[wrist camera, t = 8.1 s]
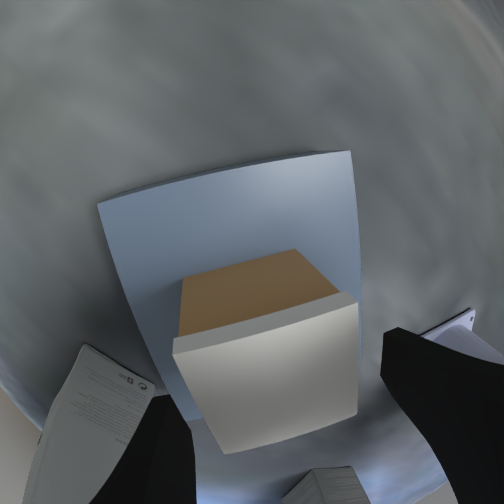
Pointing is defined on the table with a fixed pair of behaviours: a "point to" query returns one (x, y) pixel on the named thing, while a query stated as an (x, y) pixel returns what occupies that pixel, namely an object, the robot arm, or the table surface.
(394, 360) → the robot arm
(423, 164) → the table surface
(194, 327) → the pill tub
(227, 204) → the box
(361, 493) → the skincare box
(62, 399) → the skincare box
